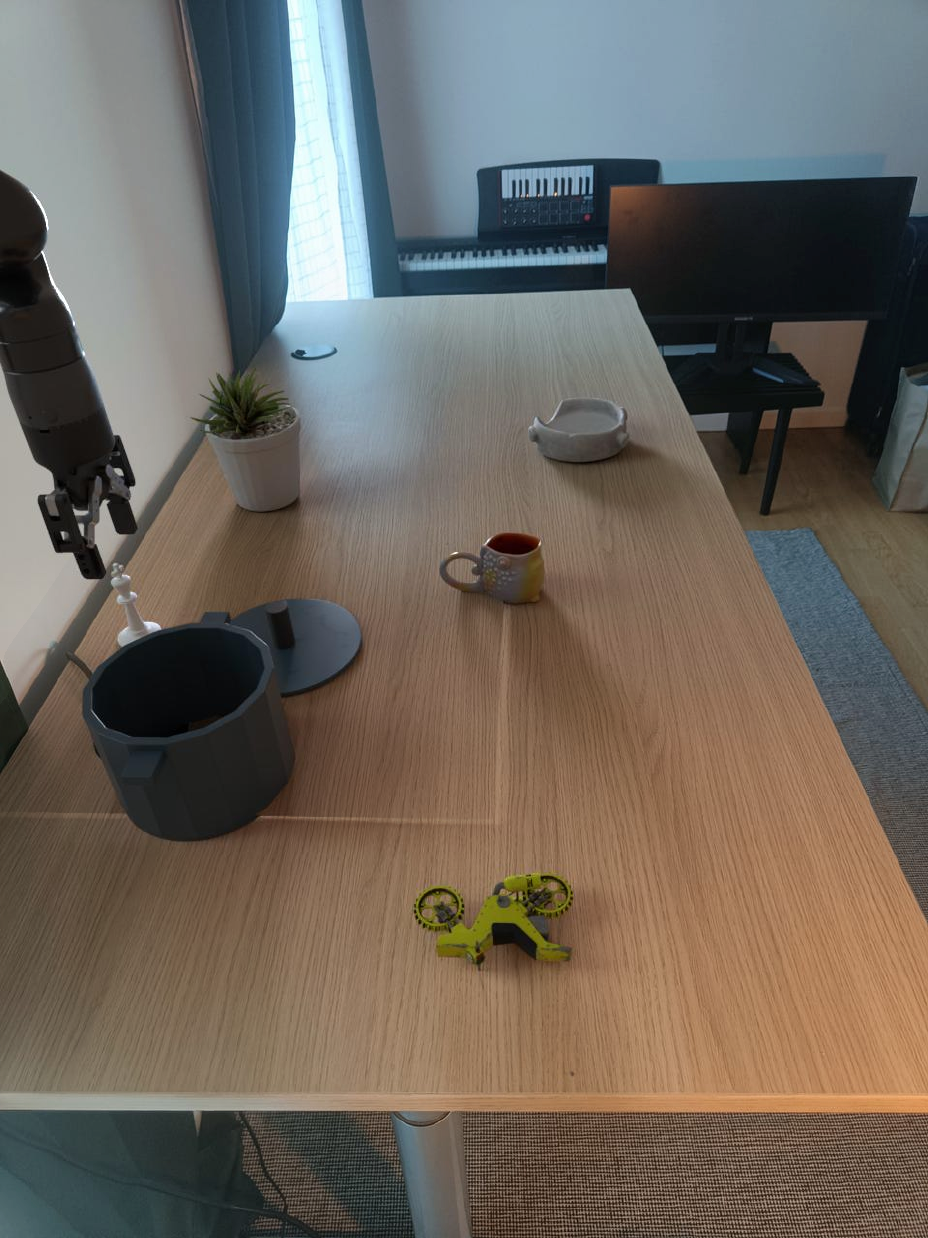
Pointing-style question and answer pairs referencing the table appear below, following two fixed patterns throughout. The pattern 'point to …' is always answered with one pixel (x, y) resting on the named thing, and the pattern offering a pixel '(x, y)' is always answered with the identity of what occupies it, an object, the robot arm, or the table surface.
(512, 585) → the mug
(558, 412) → the dish
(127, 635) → the chess piece
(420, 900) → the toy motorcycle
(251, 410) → the potted plant
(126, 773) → the pot
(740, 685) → the table surface
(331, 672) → the lid
